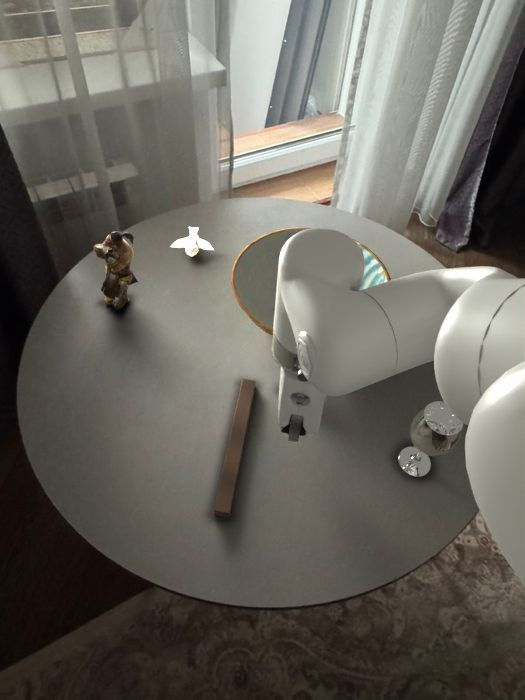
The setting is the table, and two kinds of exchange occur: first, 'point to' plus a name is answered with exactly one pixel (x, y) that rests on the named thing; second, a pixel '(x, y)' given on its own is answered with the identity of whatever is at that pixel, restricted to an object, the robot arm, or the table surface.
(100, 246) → the figurine
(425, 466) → the wineglass
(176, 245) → the toy bird
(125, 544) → the table surface
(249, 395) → the rail
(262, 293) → the bowl
